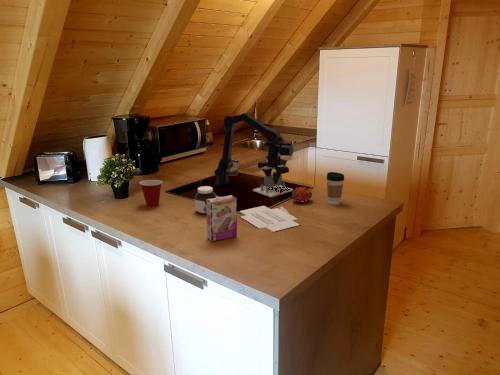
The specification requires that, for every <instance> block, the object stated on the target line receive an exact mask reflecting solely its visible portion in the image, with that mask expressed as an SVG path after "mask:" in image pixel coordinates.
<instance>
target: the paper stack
mask: <svg viewBox="0 0 500 375" xmlns="http://www.w3.org/2000/svg"><path fill="white" fill-rule="evenodd" d="M239 213H241V214H243V215H242V216H240V218H241V219H244V220H245V221H246V222H248V223H250V224H252V225H253V226H254V227H257V228H258V230H261V229H262V230H263V229H268V230H269V231H271V232H272V233H274V232H277V231H282V230H286V229H289V228H292V227H296V226H297V227H298V226H301V224H300V223H298V222H295V221H296V220H297V221H298V220H299V219H298V217H295V216H293V215H292V214H290V212H289V211H288V210H287V209H286V208H285V207H284V206H282V205H281V206H280V207H279V208H278V207H276V208H272V209H271V208H270V207H268V206H266V205H261V206H257V207H252V208H248V209H247V208H246V209H243V210H240V211H239Z"/></svg>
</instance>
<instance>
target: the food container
mask: <svg viewBox="0 0 500 375" xmlns="http://www.w3.org/2000/svg"><path fill="white" fill-rule="evenodd" d="M231 159H232V160H234V162H233V167H232V168H231V169H230V171H229V173H228V175H229V177H230V176H231V177H232V176H235V177H236V176H238V172H239V164H240V160H239V158H238V157H231Z"/></svg>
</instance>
